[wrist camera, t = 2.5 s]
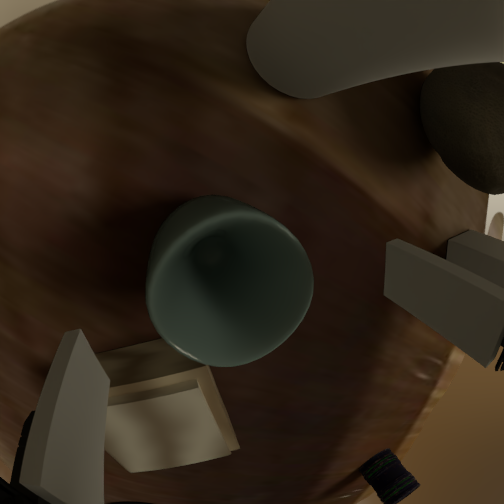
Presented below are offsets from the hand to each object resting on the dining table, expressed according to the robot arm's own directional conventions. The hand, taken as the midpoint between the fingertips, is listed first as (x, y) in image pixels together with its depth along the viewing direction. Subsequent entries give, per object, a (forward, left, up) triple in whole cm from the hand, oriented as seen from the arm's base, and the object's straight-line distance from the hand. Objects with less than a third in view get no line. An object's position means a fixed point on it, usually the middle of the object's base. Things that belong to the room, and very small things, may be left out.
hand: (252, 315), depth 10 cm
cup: (0, 0, -12) cm, 12 cm away
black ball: (+27, +8, -12) cm, 30 cm away
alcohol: (+10, +14, -12) cm, 21 cm away
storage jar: (+26, -66, -12) cm, 72 cm away
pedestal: (-9, -14, -12) cm, 21 cm away
